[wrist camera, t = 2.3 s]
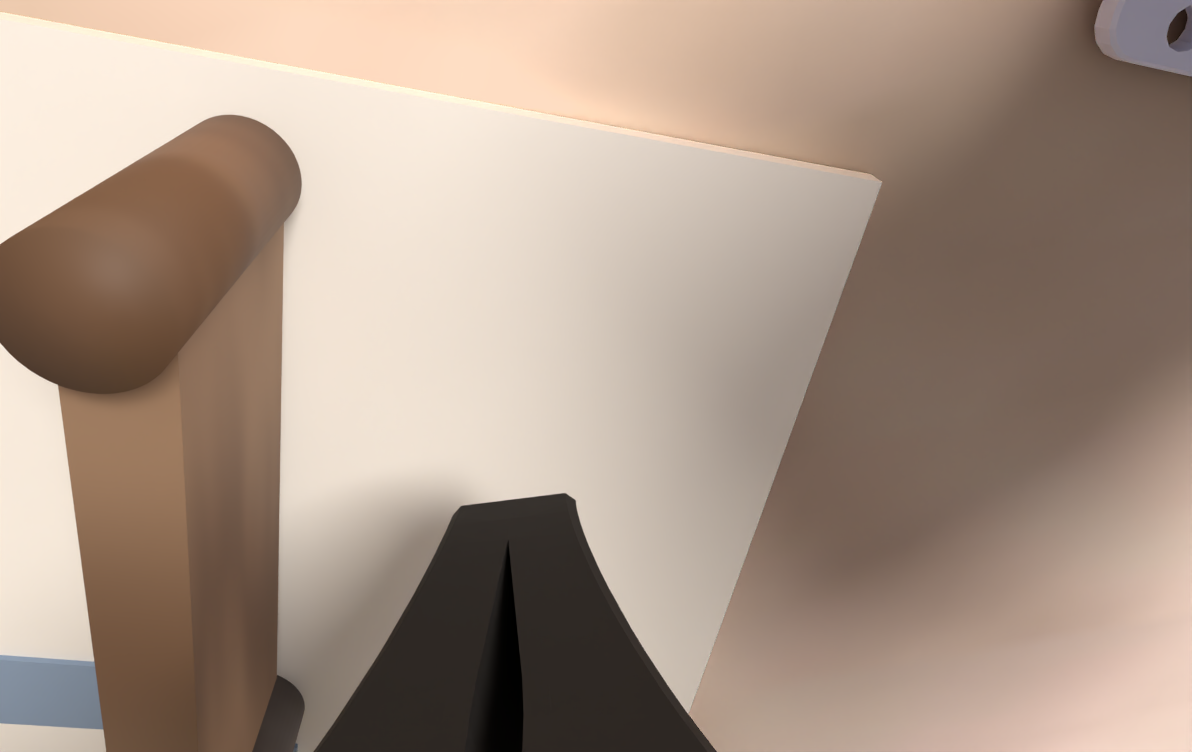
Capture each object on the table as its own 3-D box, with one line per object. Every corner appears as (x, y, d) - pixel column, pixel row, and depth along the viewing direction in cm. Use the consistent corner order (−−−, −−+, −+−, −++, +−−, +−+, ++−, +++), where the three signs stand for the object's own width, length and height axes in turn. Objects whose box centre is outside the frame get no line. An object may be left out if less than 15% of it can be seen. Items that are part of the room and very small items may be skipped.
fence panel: (288, 678, 14) (208, 933, 10) (201, 672, 14) (89, 930, 10) (303, 126, 10) (173, 243, 6) (176, 104, 9) (-36, 212, 6)
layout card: (870, 174, 11) (885, 184, 11) (577, 997, 21) (578, 1020, 21) (-1020, -178, 8) (-1110, -185, 8) (-304, 986, 18) (-324, 1013, 18)
